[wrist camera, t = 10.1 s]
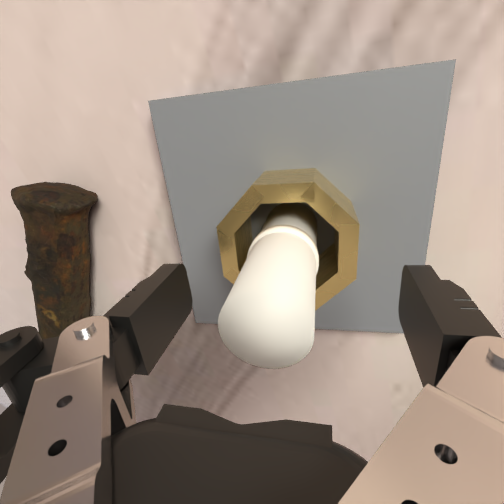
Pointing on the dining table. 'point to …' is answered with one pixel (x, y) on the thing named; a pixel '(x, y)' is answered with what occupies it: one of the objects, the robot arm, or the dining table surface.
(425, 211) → the post base
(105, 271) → the dining table surface
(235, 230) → the ring
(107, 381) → the robot arm
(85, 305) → the hand tool
